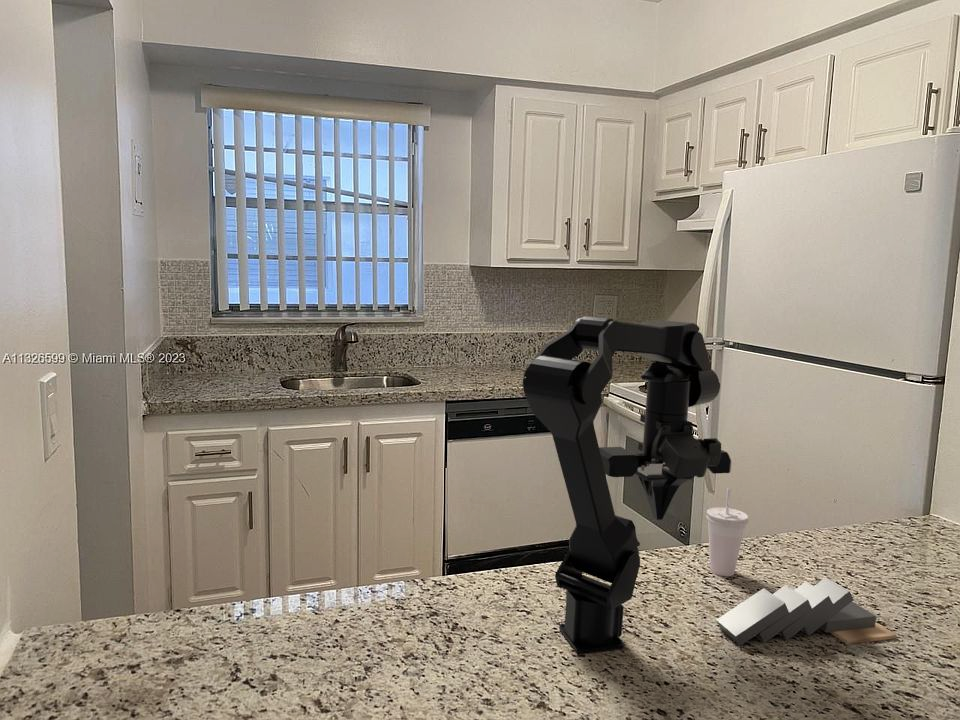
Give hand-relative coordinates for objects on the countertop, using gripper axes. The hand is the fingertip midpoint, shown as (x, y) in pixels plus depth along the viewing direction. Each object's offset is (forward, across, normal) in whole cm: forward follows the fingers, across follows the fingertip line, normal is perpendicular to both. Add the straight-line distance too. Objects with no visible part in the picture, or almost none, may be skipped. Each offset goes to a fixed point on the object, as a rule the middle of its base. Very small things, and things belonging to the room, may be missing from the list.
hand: (657, 519), depth 103 cm
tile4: (+12, +16, -11) cm, 22 cm away
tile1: (+12, +5, -11) cm, 17 cm away
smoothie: (+13, +17, +8) cm, 23 cm away
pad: (+12, +24, -11) cm, 29 cm away
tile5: (+11, +19, -11) cm, 24 cm away
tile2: (+12, +9, -11) cm, 18 cm away
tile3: (+12, +12, -11) cm, 20 cm away
